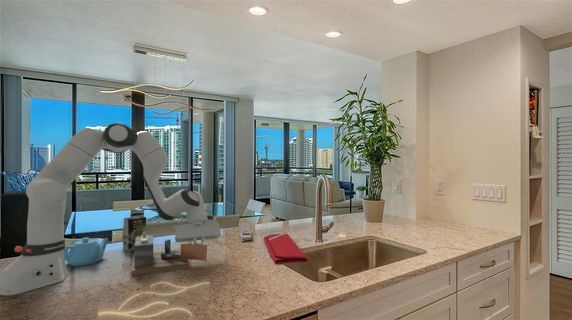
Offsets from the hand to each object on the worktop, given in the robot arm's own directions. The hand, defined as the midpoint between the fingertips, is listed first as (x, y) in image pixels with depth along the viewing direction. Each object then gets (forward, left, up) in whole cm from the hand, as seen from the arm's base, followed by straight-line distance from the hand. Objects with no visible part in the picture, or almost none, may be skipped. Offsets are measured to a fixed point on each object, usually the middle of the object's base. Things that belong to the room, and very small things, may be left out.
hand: (199, 247), depth 132 cm
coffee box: (+7, +46, -7) cm, 47 cm away
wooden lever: (-2, +7, -5) cm, 8 cm away
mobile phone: (+49, +3, -8) cm, 50 cm away
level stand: (-6, +17, -7) cm, 19 cm away
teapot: (-16, +50, -7) cm, 53 cm away
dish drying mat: (+33, -27, -8) cm, 43 cm away
